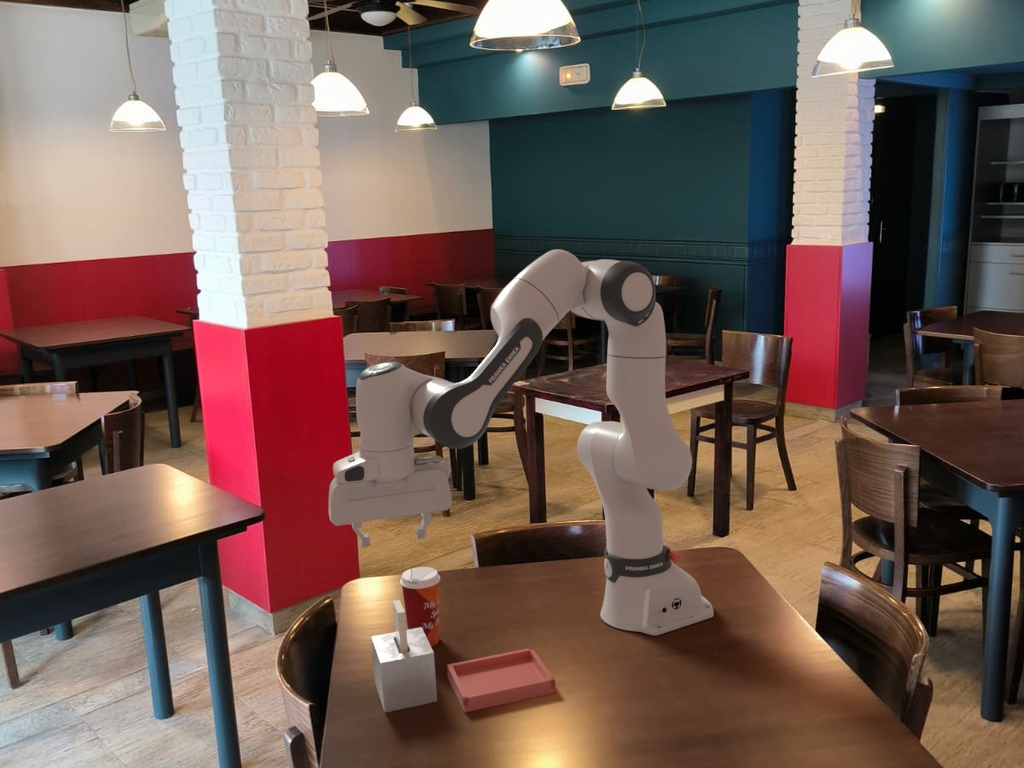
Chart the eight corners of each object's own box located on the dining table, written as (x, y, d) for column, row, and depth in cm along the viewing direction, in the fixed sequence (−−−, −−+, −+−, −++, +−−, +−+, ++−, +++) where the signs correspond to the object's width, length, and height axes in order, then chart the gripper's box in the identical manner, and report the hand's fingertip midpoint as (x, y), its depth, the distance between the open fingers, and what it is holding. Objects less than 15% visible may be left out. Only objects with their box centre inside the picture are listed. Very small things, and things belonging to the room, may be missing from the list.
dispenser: (425, 673, 160) (421, 627, 158) (437, 701, 151) (433, 652, 149) (375, 683, 158) (371, 636, 156) (384, 712, 148) (380, 663, 146)
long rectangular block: (404, 663, 156) (399, 599, 154) (410, 677, 151) (405, 611, 149) (397, 665, 156) (392, 601, 153) (403, 678, 151) (397, 613, 148)
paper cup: (438, 652, 168) (433, 582, 165) (399, 650, 169) (393, 581, 166) (449, 632, 175) (444, 566, 172) (412, 630, 177) (407, 564, 174)
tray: (532, 660, 163) (532, 647, 162) (555, 692, 152) (554, 679, 151) (447, 677, 158) (446, 664, 158) (464, 712, 147) (463, 698, 147)
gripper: (444, 449, 152) (449, 526, 155) (323, 464, 146) (330, 544, 149) (453, 459, 146) (458, 538, 149) (327, 474, 140) (334, 557, 143)
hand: (393, 541), depth 149 cm, fingers open, 8 cm apart
